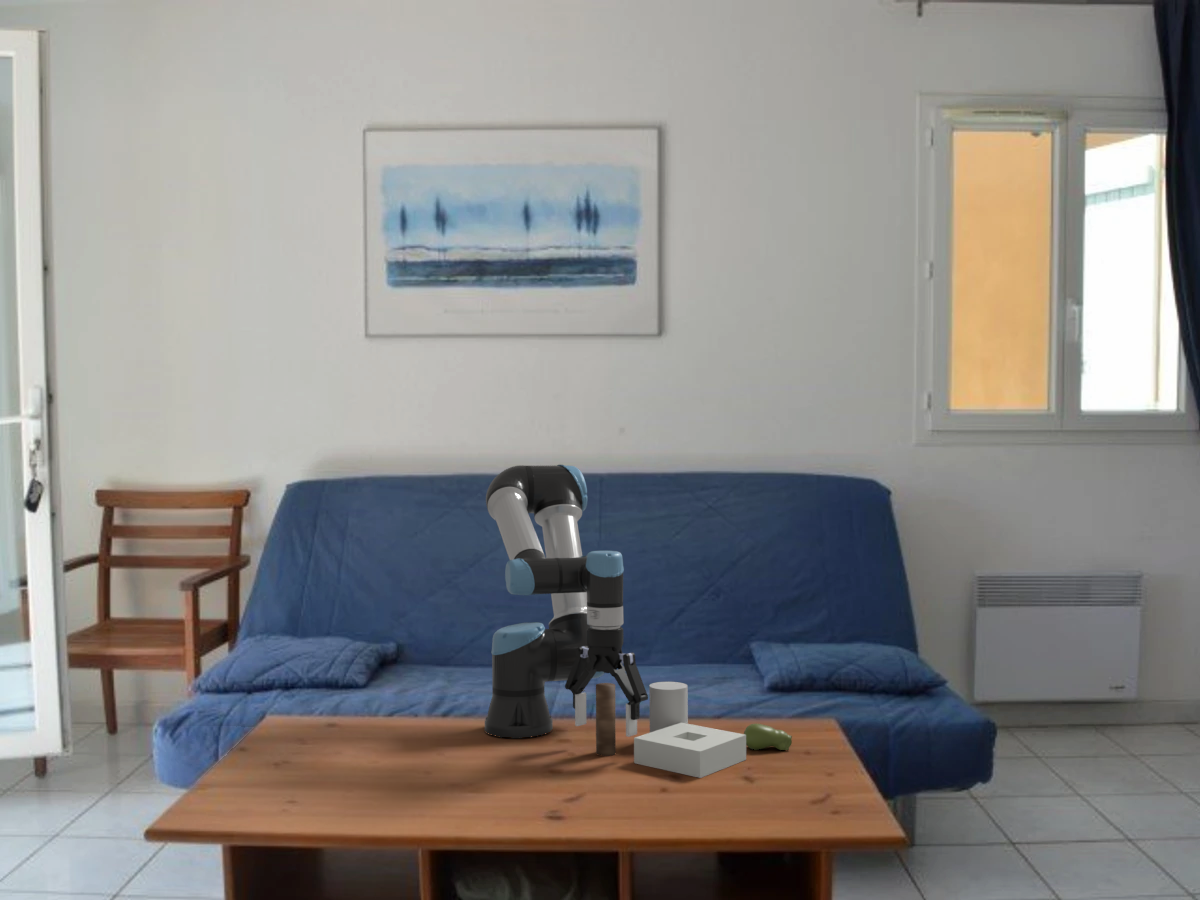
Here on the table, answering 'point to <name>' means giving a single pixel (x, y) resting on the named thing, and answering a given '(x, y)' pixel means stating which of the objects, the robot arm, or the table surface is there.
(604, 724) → the walnut dowel
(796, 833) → the table surface
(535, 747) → the table surface
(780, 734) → the pear
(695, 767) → the socket block
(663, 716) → the grey cylinder peg
